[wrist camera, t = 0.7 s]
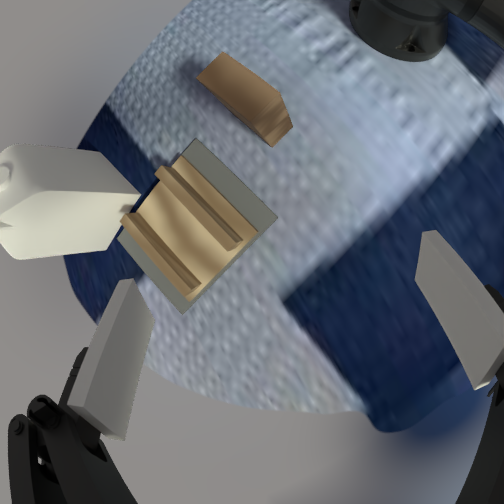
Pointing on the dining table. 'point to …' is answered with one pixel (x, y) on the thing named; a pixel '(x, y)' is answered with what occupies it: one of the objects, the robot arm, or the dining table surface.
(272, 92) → the brown wooden block
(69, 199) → the milk
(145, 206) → the rack
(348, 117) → the dining table surface
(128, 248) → the mat
